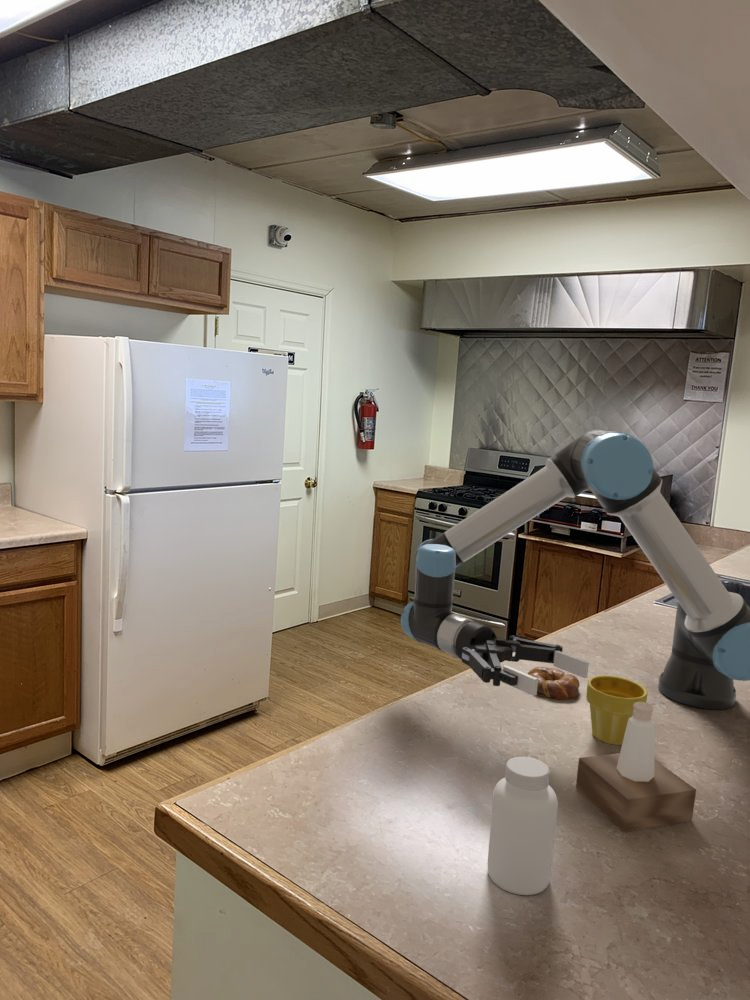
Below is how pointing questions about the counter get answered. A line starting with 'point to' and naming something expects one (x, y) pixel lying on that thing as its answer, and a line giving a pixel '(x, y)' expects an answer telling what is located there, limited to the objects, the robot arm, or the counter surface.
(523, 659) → the robot arm
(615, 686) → the plant pot
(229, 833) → the counter surface
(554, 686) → the braided bread ring
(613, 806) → the walnut base
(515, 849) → the pill bottle
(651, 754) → the pepper shaker
